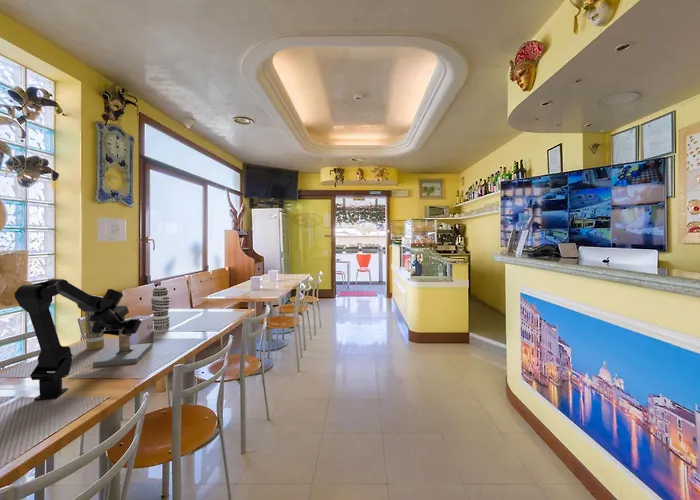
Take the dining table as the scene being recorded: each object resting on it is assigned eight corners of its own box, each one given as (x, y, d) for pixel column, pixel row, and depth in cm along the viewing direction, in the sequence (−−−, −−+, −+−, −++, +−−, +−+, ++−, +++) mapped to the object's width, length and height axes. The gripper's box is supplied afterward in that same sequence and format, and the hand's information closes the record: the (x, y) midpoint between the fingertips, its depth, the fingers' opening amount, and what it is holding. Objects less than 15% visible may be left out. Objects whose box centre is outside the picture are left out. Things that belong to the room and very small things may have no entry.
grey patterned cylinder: (94, 351, 152) (92, 298, 151) (82, 350, 153) (81, 298, 152) (107, 346, 159) (106, 296, 158) (96, 345, 160) (94, 295, 159)
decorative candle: (168, 326, 193) (167, 285, 191) (171, 330, 185) (170, 287, 184) (150, 329, 187) (149, 287, 186) (153, 333, 180) (152, 289, 178)
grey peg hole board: (136, 362, 138) (136, 358, 138) (93, 366, 134) (92, 362, 134) (151, 347, 157) (151, 343, 157) (114, 350, 153) (113, 346, 153)
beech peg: (131, 354, 146) (130, 319, 145) (120, 357, 143) (119, 321, 142) (128, 352, 148) (127, 318, 148) (118, 354, 145) (117, 319, 145)
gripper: (137, 301, 140) (154, 319, 152) (95, 301, 140) (114, 319, 152) (125, 323, 133) (143, 341, 144) (81, 323, 133) (102, 341, 144)
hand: (126, 335), depth 146 cm, fingers closed on beech peg, 4 cm apart
